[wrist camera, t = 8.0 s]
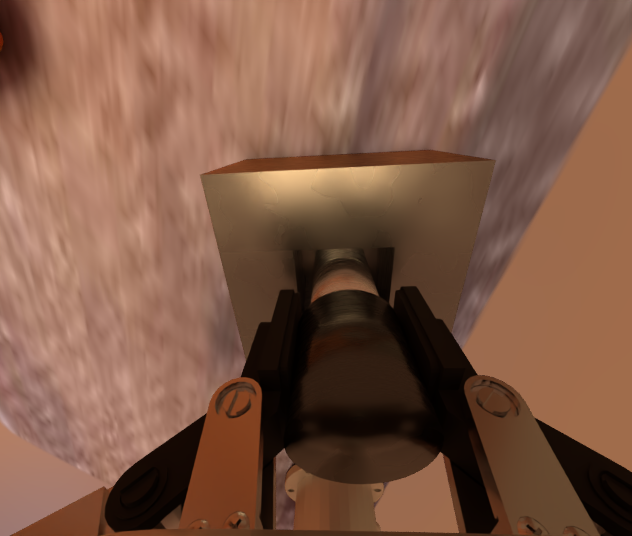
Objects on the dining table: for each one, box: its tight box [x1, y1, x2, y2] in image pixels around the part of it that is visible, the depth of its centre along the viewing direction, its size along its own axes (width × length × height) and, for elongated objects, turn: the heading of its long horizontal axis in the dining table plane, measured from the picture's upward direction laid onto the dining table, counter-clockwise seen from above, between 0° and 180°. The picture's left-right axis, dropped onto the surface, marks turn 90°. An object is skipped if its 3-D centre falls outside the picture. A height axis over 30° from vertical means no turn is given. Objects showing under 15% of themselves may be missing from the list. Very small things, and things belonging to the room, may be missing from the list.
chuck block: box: [200, 150, 496, 361], centre depth 15 cm, size 11×11×6 cm
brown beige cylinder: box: [283, 248, 444, 484], centre depth 11 cm, size 4×4×10 cm
